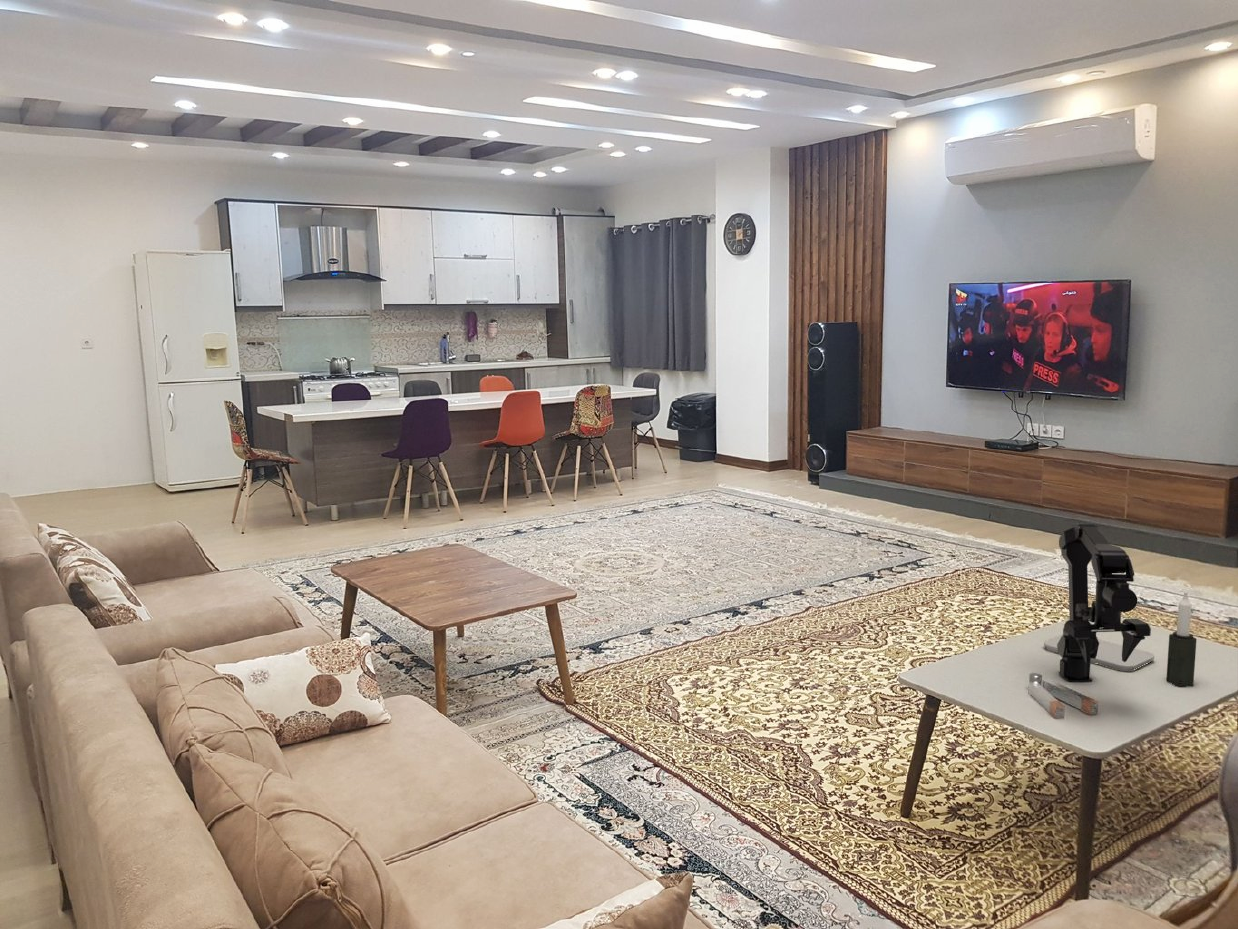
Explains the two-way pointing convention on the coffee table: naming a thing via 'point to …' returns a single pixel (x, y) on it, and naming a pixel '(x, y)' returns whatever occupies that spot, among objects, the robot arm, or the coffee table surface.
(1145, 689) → the coffee table surface
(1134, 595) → the robot arm
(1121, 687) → the coffee table surface
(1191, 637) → the candle
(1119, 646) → the tablet
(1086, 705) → the tongs arm
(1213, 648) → the coffee table surface
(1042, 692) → the base
